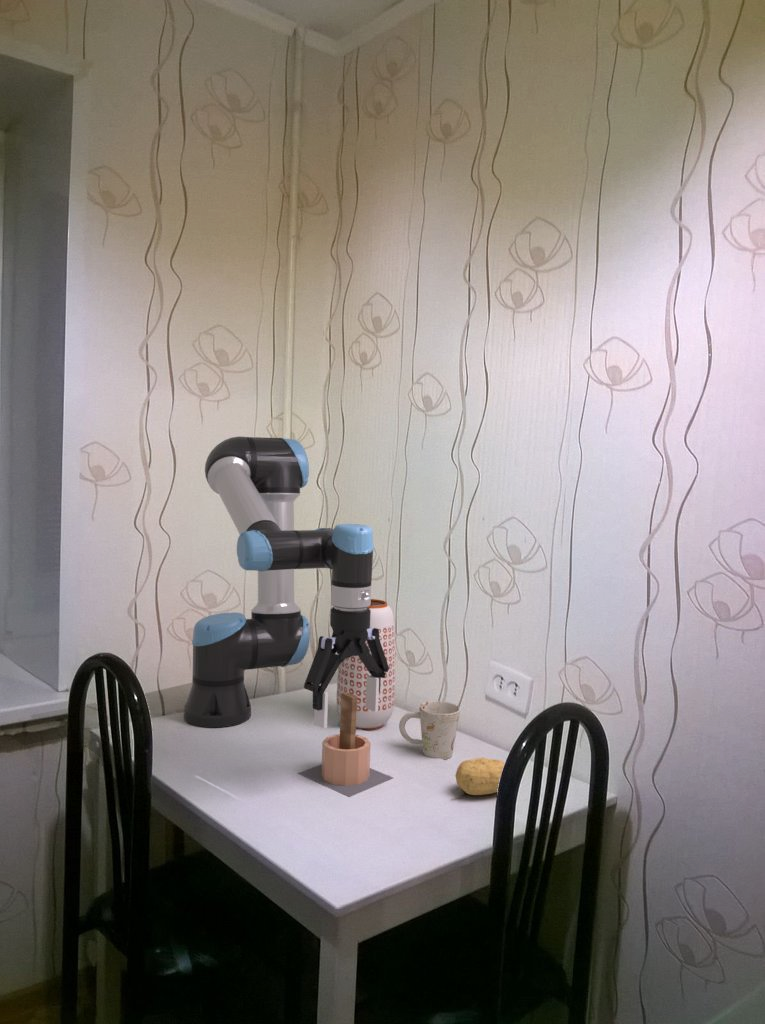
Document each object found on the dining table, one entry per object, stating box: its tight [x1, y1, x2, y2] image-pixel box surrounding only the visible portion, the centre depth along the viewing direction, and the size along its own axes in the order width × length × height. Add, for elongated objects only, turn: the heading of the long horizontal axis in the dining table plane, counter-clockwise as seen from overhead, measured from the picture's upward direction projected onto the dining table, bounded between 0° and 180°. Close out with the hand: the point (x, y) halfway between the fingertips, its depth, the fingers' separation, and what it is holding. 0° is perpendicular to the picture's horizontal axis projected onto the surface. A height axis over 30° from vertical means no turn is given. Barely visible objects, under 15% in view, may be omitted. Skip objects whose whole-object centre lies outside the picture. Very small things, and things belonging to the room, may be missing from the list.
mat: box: [297, 763, 394, 798], centre depth 147 cm, size 14×12×1 cm
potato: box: [455, 757, 506, 796], centre depth 143 cm, size 7×11×6 cm, turn 106°
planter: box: [336, 598, 396, 731], centre depth 176 cm, size 13×13×28 cm
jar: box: [321, 733, 372, 786], centre depth 147 cm, size 9×9×6 cm
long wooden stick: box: [339, 692, 357, 750], centre depth 147 cm, size 4×4×15 cm
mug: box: [398, 700, 461, 760], centre depth 160 cm, size 8×13×10 cm, turn 78°
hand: (346, 717), depth 147 cm, fingers open, 13 cm apart
